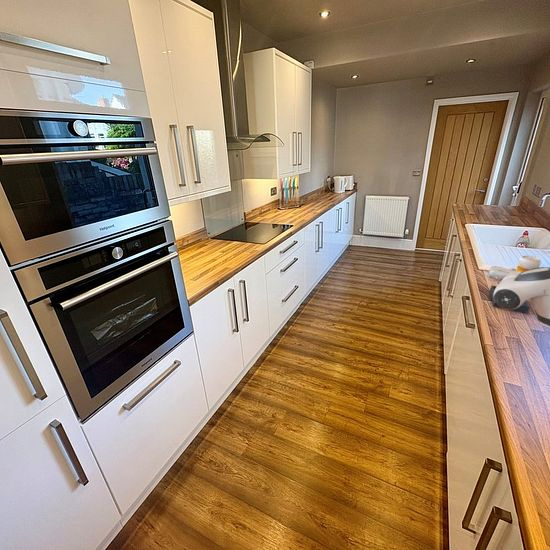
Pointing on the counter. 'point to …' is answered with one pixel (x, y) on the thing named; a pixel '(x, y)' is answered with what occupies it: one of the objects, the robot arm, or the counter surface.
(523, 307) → the tray
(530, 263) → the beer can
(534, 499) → the counter surface
